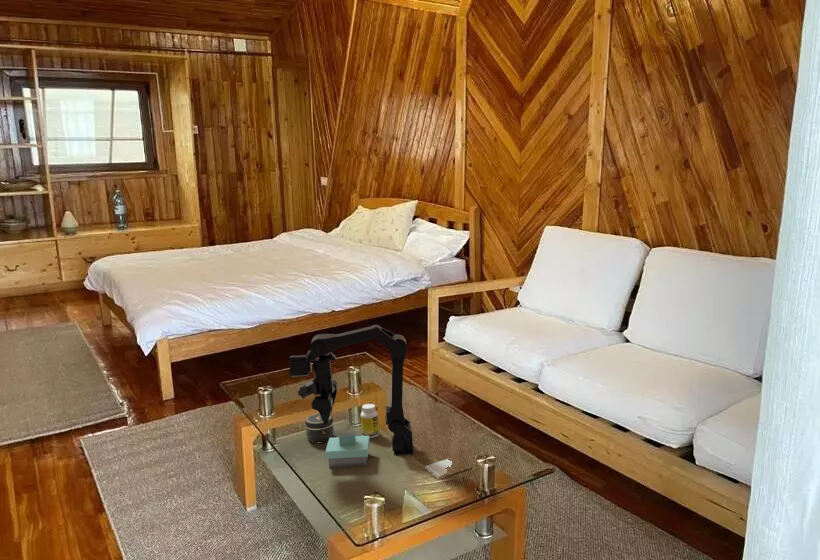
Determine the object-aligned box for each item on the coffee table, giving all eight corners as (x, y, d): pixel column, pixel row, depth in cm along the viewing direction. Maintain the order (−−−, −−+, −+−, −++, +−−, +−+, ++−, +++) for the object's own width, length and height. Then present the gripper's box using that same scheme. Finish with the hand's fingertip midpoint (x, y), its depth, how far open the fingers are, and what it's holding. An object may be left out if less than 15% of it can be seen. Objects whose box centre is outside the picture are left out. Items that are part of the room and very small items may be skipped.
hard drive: (457, 455, 199) (424, 465, 193) (472, 465, 192) (438, 475, 186) (457, 459, 199) (424, 470, 193) (472, 469, 192) (438, 480, 186)
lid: (369, 442, 206) (368, 427, 205) (367, 456, 196) (366, 440, 195) (329, 444, 206) (328, 429, 205) (326, 458, 196) (324, 442, 195)
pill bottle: (376, 439, 216) (374, 409, 215) (359, 438, 218) (357, 409, 216) (381, 431, 222) (379, 403, 220) (364, 431, 224) (362, 402, 222)
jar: (312, 446, 213) (310, 426, 212) (302, 436, 222) (300, 416, 221) (338, 439, 218) (337, 419, 217) (328, 429, 227) (326, 410, 225)
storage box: (368, 453, 206) (367, 439, 205) (366, 465, 197) (365, 451, 196) (332, 455, 206) (331, 441, 205) (329, 467, 197) (328, 453, 196)
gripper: (303, 366, 209) (308, 409, 212) (292, 385, 191) (298, 432, 193) (335, 364, 209) (340, 407, 211) (328, 382, 190) (333, 429, 193)
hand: (327, 418), depth 202 cm, fingers open, 9 cm apart
